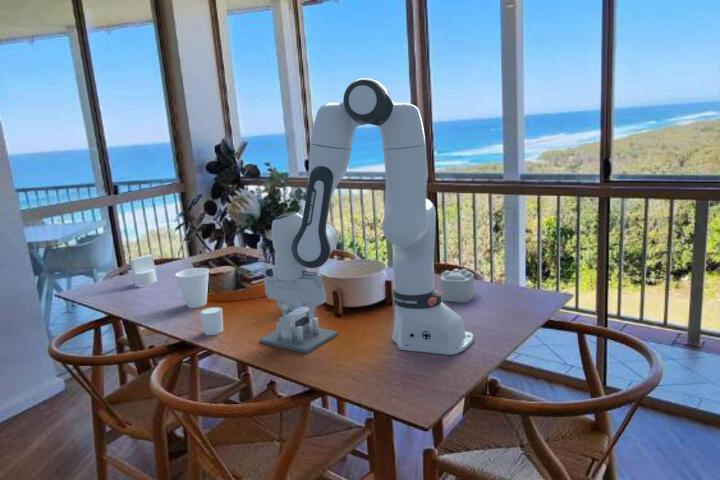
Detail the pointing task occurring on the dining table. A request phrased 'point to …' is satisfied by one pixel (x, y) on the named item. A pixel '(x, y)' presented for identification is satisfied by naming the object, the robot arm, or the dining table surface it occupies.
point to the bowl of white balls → (457, 285)
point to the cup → (194, 286)
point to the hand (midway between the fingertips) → (298, 315)
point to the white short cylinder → (212, 320)
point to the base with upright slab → (143, 270)
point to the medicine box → (294, 305)
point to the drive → (295, 324)
